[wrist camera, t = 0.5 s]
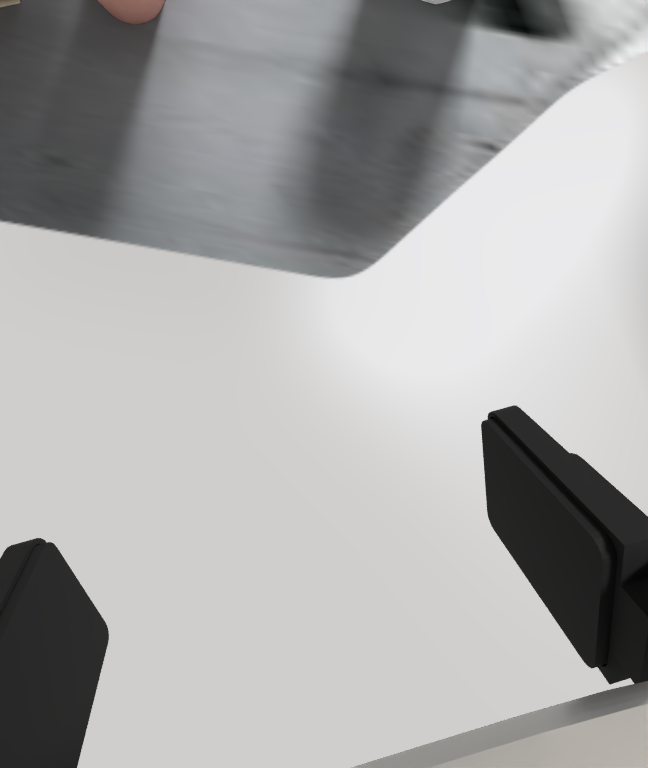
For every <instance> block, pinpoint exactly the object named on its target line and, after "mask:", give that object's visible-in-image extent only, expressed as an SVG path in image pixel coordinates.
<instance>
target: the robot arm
mask: <svg viewBox="0 0 648 768" xmlns="http://www.w3.org/2000/svg"><path fill="white" fill-rule="evenodd" d="M481 428H482V443H483V457H484V470H485V485H486V497H487V498H486V499H487V512H488V517H489V520H490V523H491V525H492V527H493V529H494V531H495V532H496V533H497V535H498V536H499V538H500V539H501V541H502V542H503V544H504V545H505V547H506V548H507V550H508V551H509V553H510V554H511V555H512V557H513V558H514V560H515V561H516V563H517V564H518V566H519V567H520V569H521V570H522V572H523V573H524V574H525V576H526V577H527V579H528V580H529V582H530V583H531V585H532V586H533V588H534V589H535V591H536V592H537V594H538V595H539V597H540V598H541V599H542V601H543V602H544V604H545V605H546V607H547V608H548V609H549V611H550V613H551V614H552V616H553V617H554V619H555V620H556V621H557V623H558V624H559V626H560V627H561V629H562V630H563V632H564V633H565V635H566V636H567V638H568V639H569V640H570V642H571V643H572V645H573V646H574V648H575V649H576V651H577V652H578V654H579V655H580V657H581V658H582V660H583V661H584V662H585V663H586V664H587V665H588V666H589V667H590V668H595V667H598V668H599V670H600V671H601V672H602V674H603V675H604V677H605V678H606V680H607V681H608V683H609V684H613V683H616V682H619V681H622V680H625V679H628V678H631V679H632V681H633V682H634V683H635V684H633V685H629V686H624V687H619V688H616V689H611V690H607V691H604V692H600V693H596V694H593V695H589V696H586V697H583V698H579V699H576V700H572V701H569V702H565V703H562V704H558V705H555V706H551V707H548V708H544V709H541V710H538V711H534V712H530V713H527V714H524V715H520V716H517V717H513V718H511V719H507V720H504V721H500V722H497V723H494V724H491V725H488V726H484V727H481V728H478V729H475V730H471V731H468V732H465V733H462V734H458V735H455V736H452V737H449V738H446V739H442V740H439V741H436V742H433V743H430V744H426V745H423V746H420V747H416V748H413V749H410V750H407V751H404V752H400V753H398V754H394V755H391V756H387V757H384V758H381V759H378V760H374V761H371V762H368V763H365V764H362V765H359V766H355V767H352V768H648V516H646V515H645V514H644V513H643V512H642V511H641V510H640V509H639V508H637V507H636V506H635V505H634V504H633V503H632V502H631V501H630V500H628V499H627V498H626V497H625V496H624V495H623V494H622V493H621V492H619V491H618V490H617V489H616V488H615V487H614V486H613V485H611V483H609V482H608V481H607V480H606V479H605V478H604V477H602V475H600V474H599V473H598V472H597V471H596V470H595V469H594V468H592V467H591V466H590V465H589V464H588V463H587V462H586V461H585V460H584V459H582V458H581V457H580V456H578V455H576V454H573V453H569V452H567V451H566V450H565V449H564V448H563V447H562V446H561V445H560V444H559V443H558V442H556V441H555V440H554V439H553V438H552V437H551V436H550V435H549V434H548V433H547V432H545V431H544V430H543V429H542V428H541V427H540V426H539V425H538V424H537V423H536V422H535V421H533V420H532V419H531V418H530V417H529V416H528V415H527V414H526V413H525V412H524V411H522V410H521V409H520V408H519V407H517V406H511V407H507V408H503V409H500V410H496V411H493V412H490V413H489V414H488V420H485V421H483V422H482V424H481ZM108 639H109V634H108V628H107V625H106V623H105V621H104V620H103V618H102V617H101V615H100V613H99V612H98V610H97V609H96V607H95V606H94V604H93V603H92V601H91V600H90V598H89V597H88V595H87V594H86V592H85V590H84V589H83V587H82V586H81V584H80V583H79V581H78V579H77V578H76V576H75V575H74V573H73V572H72V570H71V569H70V567H69V566H68V564H67V562H66V561H65V559H64V558H63V556H62V555H61V553H60V552H59V550H58V548H57V547H56V546H55V545H54V544H53V543H51V542H48V543H46V541H45V540H43V539H41V538H36V539H33V540H29V541H26V542H22V543H19V544H15V545H11V546H10V547H8V548H7V549H6V550H5V551H4V553H3V555H2V557H1V558H0V768H77V765H78V761H79V757H80V753H81V749H82V745H83V741H84V737H85V733H86V729H87V725H88V721H89V717H90V713H91V709H92V705H93V701H94V697H95V693H96V689H97V684H98V681H99V676H100V673H101V669H102V665H103V661H104V657H105V653H106V649H107V645H108Z"/></svg>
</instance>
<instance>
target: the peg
mask: <svg viewBox="0 0 648 768" xmlns="http://www.w3.org/2000/svg"><path fill="white" fill-rule="evenodd" d="M98 1H99V2H100V3H101V4H102V6H103V7H104V8H105V9H106V10H107V11H108V12H109V13H110V14H111V15H113V16H114V17H116V18H117V19H119V20H121V21H123V22H126V23H129V24H143V23H146V22H148V21H150V20H152V19H153V18H155V17H156V16H157V15H158V13H159V12H160V11H161V9H162V7H163V5H164V2H165V0H98Z"/></svg>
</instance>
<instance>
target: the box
mask: <svg viewBox="0 0 648 768" xmlns="http://www.w3.org/2000/svg"><path fill="white" fill-rule="evenodd" d="M19 3H21V2H20V0H0V7H5V6H10V5H14V4H19Z"/></svg>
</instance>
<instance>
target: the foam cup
mask: <svg viewBox="0 0 648 768" xmlns="http://www.w3.org/2000/svg"><path fill="white" fill-rule="evenodd" d="M422 1H425V2H429V3H432V4H440V3H444V2H447V1H451V0H422Z"/></svg>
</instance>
